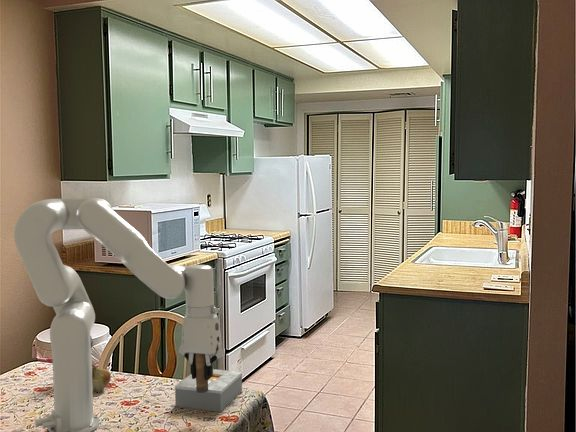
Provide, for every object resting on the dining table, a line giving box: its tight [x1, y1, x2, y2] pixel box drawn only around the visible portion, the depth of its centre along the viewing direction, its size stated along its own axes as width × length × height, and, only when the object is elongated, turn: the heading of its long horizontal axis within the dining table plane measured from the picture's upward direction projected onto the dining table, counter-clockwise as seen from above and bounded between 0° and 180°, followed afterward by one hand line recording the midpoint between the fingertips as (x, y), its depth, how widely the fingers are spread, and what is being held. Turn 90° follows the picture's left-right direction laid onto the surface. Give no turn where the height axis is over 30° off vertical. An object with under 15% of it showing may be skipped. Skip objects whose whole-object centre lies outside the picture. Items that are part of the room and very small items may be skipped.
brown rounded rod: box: [195, 354, 208, 393], centre depth 158 cm, size 3×3×12 cm
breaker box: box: [174, 368, 243, 413], centre depth 172 cm, size 16×14×6 cm
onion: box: [92, 364, 112, 393], centre depth 179 cm, size 8×8×8 cm
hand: (201, 377), depth 159 cm, fingers closed on brown rounded rod, 3 cm apart
